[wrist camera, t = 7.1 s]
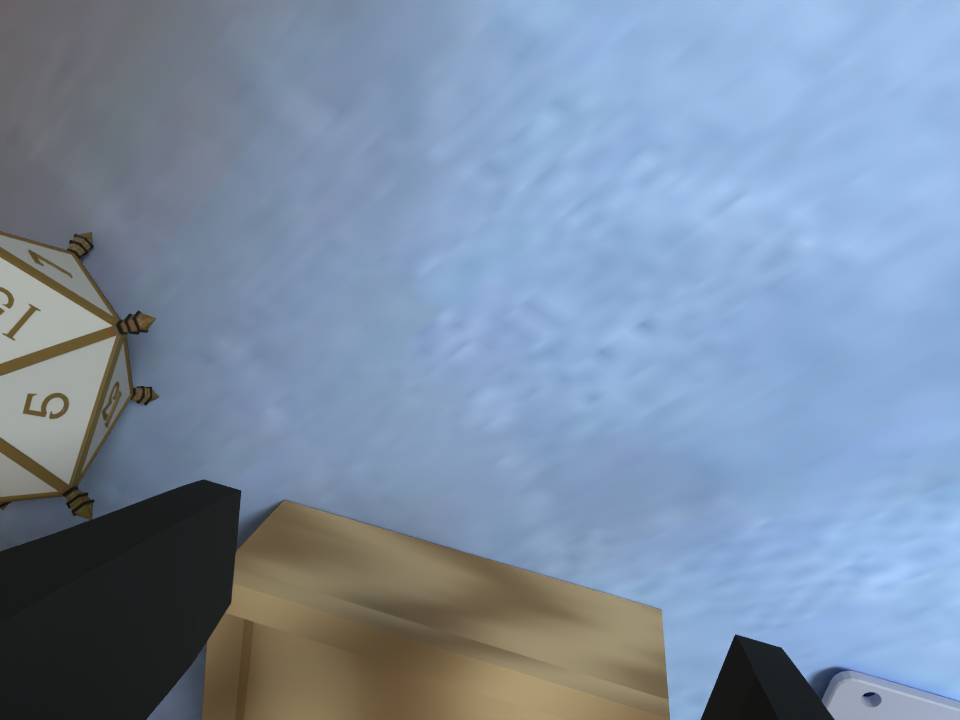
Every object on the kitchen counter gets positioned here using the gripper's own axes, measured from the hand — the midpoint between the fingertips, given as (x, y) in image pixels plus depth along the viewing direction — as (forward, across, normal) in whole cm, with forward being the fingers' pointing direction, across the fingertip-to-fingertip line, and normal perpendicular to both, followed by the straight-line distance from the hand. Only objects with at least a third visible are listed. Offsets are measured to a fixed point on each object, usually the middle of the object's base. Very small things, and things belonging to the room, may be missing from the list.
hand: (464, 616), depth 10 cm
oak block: (+10, +1, +12) cm, 16 cm away
